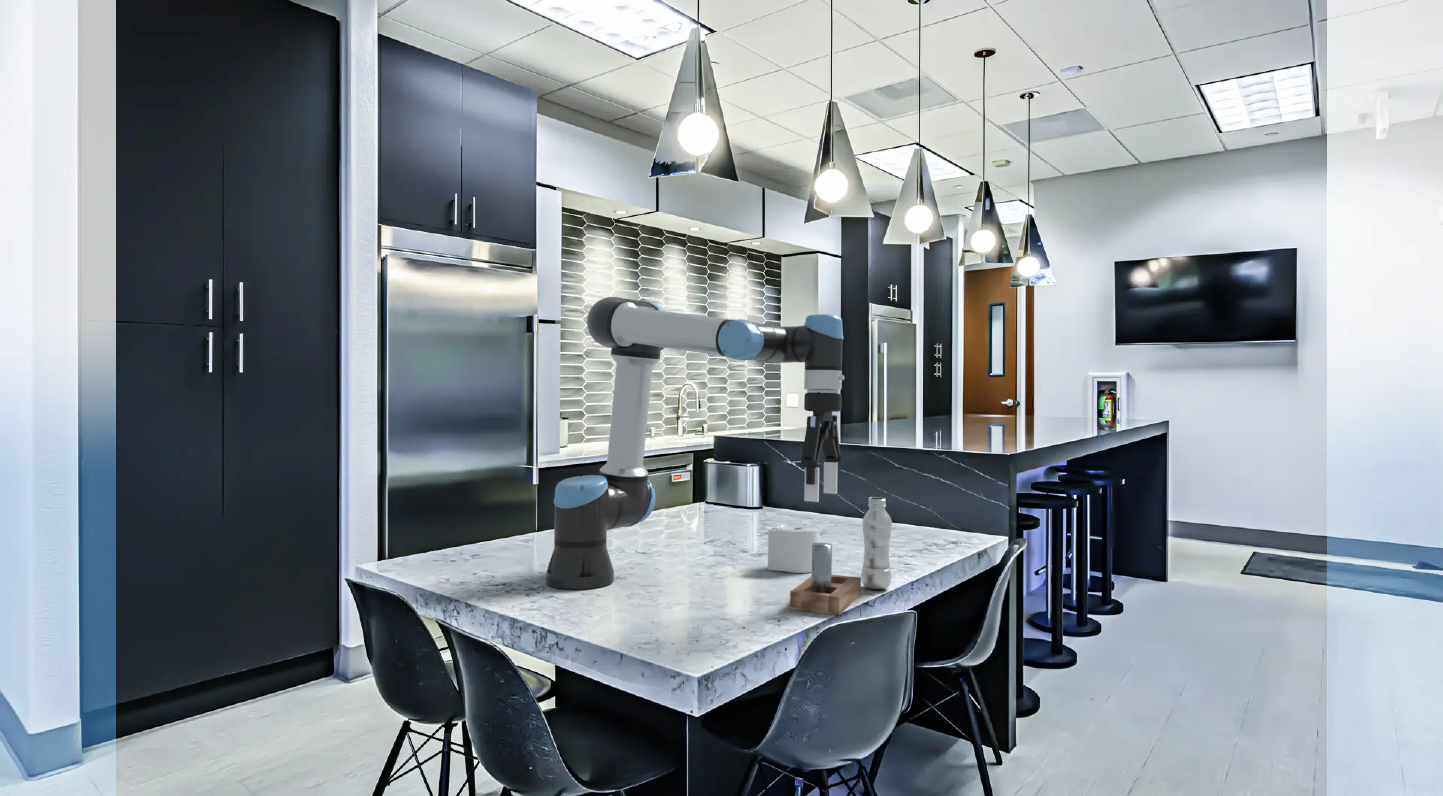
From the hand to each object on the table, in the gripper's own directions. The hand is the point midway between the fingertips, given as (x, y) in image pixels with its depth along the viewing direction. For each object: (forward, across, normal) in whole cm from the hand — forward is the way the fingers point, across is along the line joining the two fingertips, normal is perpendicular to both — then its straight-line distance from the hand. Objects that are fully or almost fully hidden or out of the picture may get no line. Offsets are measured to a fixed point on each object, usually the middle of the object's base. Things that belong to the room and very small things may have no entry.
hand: (821, 497), depth 157 cm
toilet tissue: (+22, +30, +15) cm, 41 cm away
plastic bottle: (+22, +19, -7) cm, 30 cm away
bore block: (+22, +4, 0) cm, 22 cm away
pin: (+22, 0, 0) cm, 22 cm away
